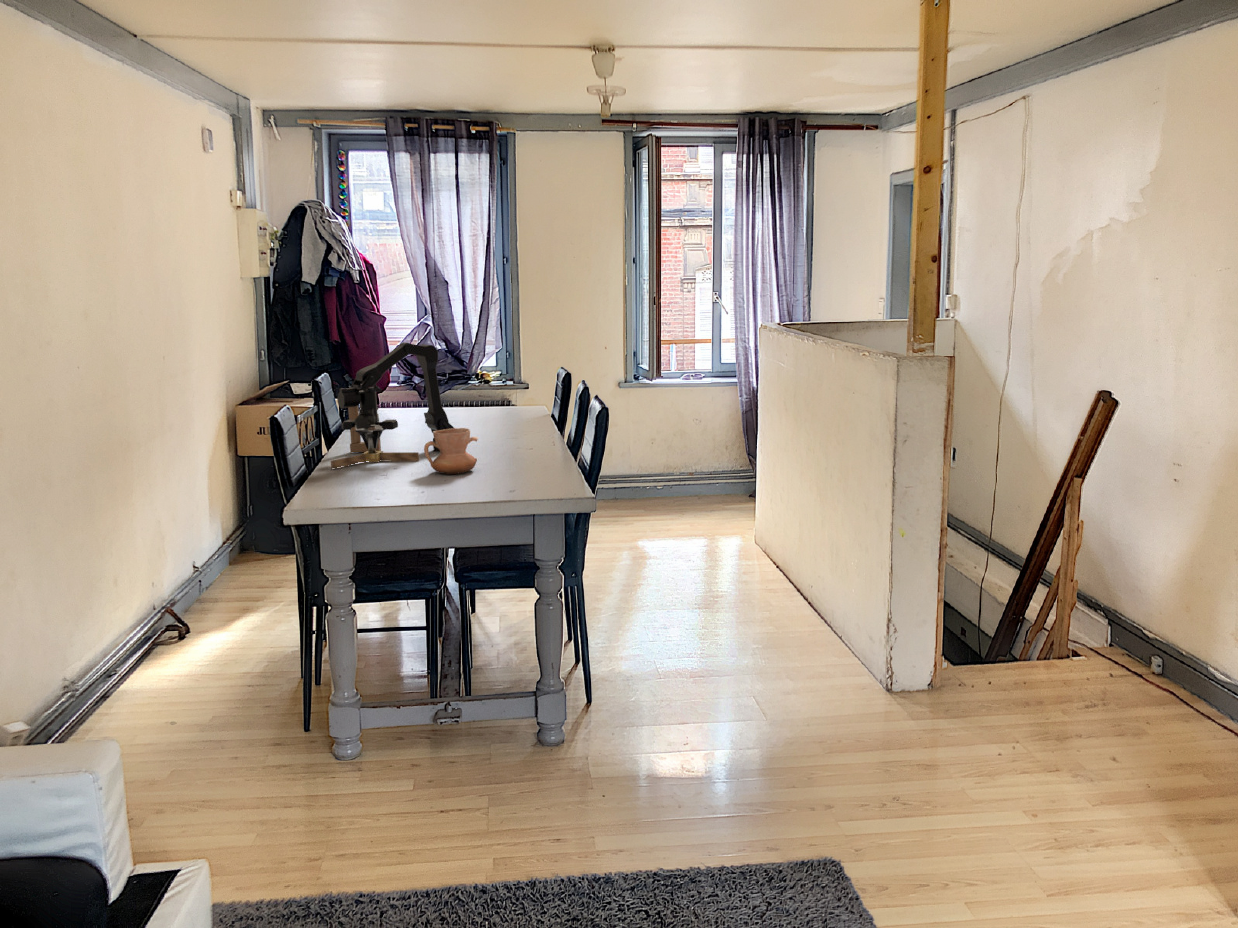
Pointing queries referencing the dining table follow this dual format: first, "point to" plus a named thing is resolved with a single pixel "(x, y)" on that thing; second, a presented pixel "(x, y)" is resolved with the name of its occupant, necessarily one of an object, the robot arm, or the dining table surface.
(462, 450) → the ceramic jug
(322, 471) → the dining table surface
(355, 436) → the wooden block
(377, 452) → the tan piece
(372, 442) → the hinge pin
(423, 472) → the dining table surface
